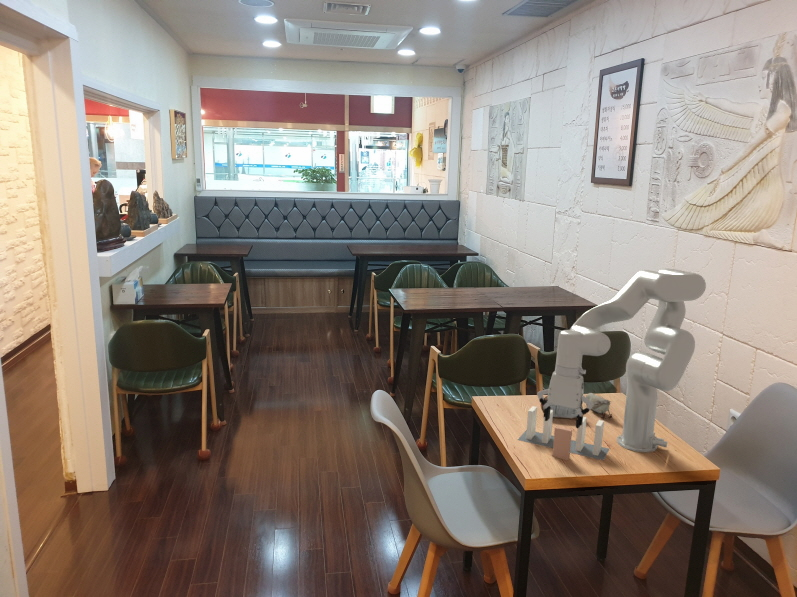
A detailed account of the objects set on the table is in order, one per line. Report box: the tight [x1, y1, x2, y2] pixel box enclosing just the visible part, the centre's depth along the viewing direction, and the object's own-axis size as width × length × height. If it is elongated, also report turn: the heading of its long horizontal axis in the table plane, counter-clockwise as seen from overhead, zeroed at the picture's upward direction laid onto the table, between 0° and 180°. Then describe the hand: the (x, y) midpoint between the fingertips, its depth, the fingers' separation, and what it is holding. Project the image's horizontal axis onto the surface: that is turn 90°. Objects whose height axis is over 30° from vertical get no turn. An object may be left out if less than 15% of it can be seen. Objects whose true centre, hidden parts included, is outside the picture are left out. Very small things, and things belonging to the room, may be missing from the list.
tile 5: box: [593, 419, 605, 456], centre depth 192 cm, size 2×5×10 cm, turn 150°
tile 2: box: [542, 410, 554, 444], centre depth 200 cm, size 2×5×10 cm, turn 150°
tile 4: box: [575, 416, 588, 452], centre depth 195 cm, size 2×5×10 cm, turn 150°
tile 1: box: [526, 405, 538, 440], centre depth 203 cm, size 2×5×10 cm, turn 150°
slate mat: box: [517, 429, 610, 461], centre depth 199 cm, size 28×10×1 cm, turn 60°
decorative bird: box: [585, 392, 613, 420], centre depth 228 cm, size 5×16×8 cm, turn 11°
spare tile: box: [552, 425, 573, 461], centre depth 188 cm, size 2×5×10 cm, turn 60°
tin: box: [540, 395, 584, 420], centre depth 222 cm, size 15×3×8 cm, turn 84°
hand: (562, 423), depth 187 cm, fingers open, 9 cm apart
